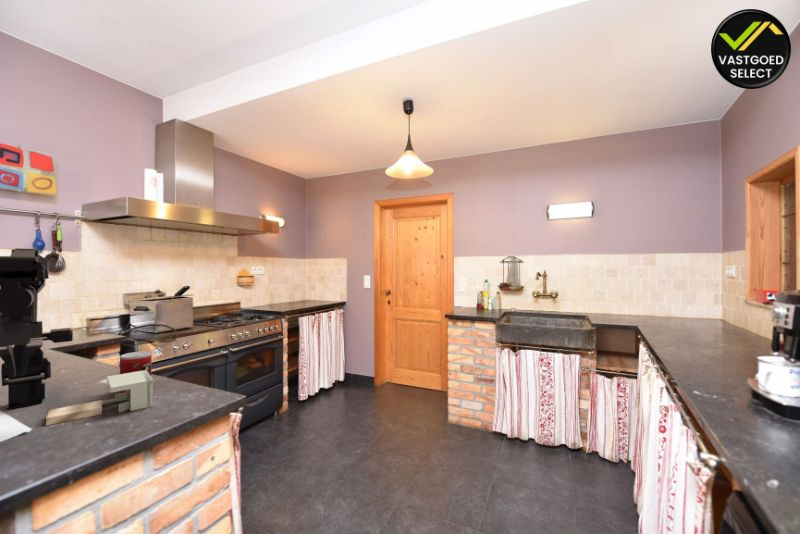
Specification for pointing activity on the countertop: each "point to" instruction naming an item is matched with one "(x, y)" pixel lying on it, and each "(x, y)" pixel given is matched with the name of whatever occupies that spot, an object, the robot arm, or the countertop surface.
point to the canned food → (135, 363)
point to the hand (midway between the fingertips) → (17, 376)
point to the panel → (74, 412)
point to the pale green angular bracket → (132, 389)
